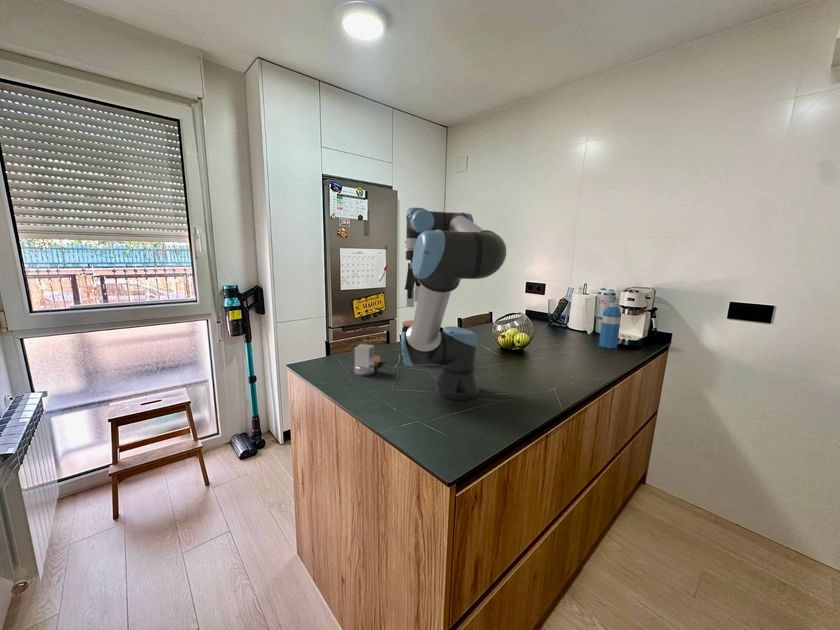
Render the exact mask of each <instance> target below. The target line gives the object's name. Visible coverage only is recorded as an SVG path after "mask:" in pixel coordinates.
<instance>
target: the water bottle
mask: <svg viewBox="0 0 840 630" xmlns="http://www.w3.org/2000/svg"><path fill="white" fill-rule="evenodd" d="M618 304H619V303H618V302H609V304H608V305H609V306H608V307H607V308H605V309H604V310H603V312H602V318H601V320H602V321H601V326H600V334H599V340H598V341H599V343H598V347H599V346H602V347H606V348H616V349H617V348H618V341H619V332H620V326H621V319H622V312H621V310H620V309H619V307H618Z"/></svg>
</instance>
